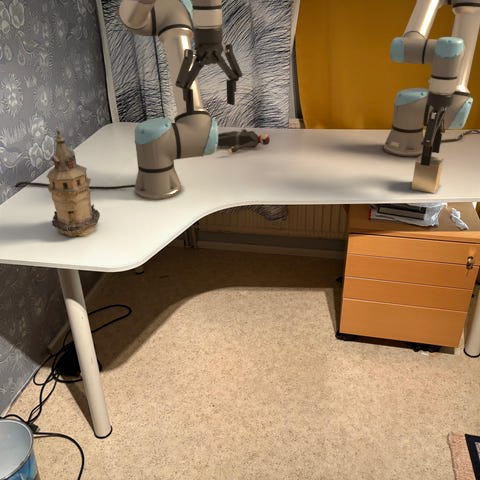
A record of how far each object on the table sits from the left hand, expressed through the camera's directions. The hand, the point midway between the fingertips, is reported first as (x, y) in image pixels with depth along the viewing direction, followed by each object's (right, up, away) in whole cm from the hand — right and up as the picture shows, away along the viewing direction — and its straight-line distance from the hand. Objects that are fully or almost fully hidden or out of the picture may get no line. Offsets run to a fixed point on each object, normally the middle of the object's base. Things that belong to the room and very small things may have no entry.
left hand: (211, 108), depth 148 cm
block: (+70, -19, +30) cm, 78 cm away
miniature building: (-39, -33, +8) cm, 52 cm away
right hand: (+69, -10, +25) cm, 74 cm away
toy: (+5, +1, +67) cm, 68 cm away
